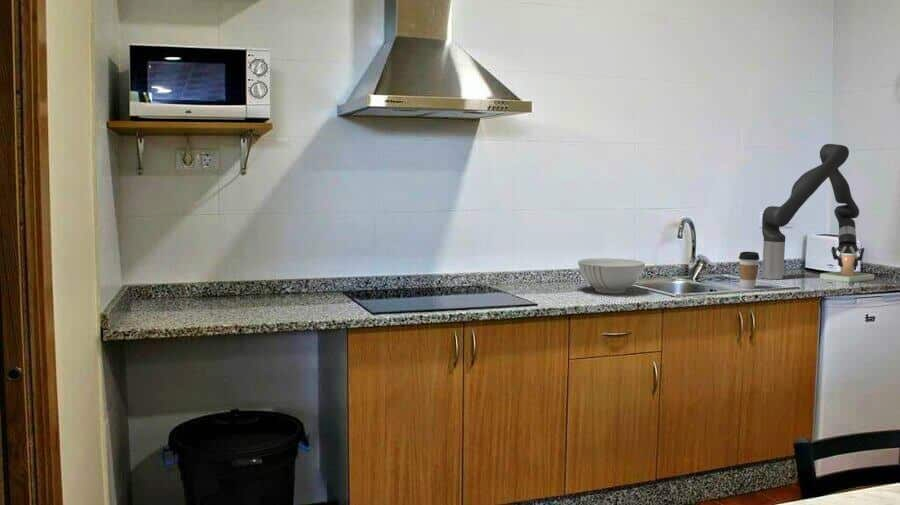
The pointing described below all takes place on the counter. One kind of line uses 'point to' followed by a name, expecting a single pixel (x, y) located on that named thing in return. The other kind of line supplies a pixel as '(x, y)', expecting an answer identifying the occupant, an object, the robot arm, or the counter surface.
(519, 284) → the counter surface
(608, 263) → the decorative bowl
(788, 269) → the counter surface
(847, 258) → the tumbler
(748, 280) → the coffee cup
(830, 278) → the tray
